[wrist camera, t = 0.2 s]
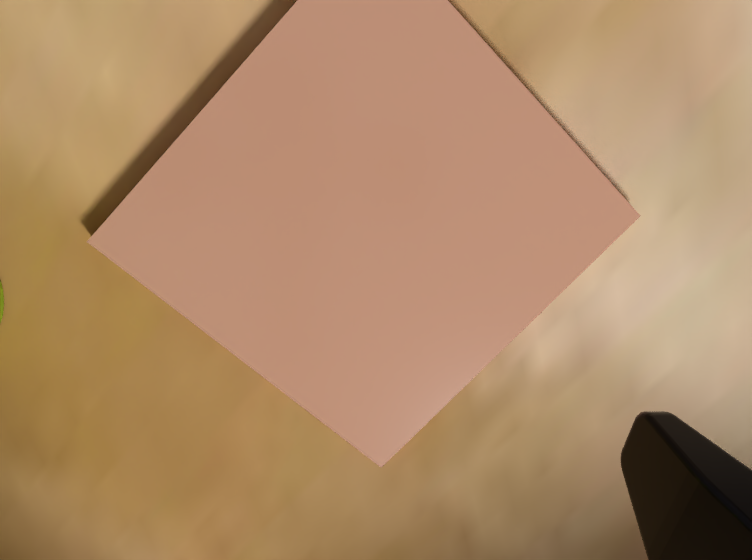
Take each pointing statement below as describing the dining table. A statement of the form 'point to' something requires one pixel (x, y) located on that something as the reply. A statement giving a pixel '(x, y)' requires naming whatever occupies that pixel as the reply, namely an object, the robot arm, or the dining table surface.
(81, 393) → the dining table surface
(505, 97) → the terracotta tile
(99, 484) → the dining table surface
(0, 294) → the soap dispenser
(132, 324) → the dining table surface
